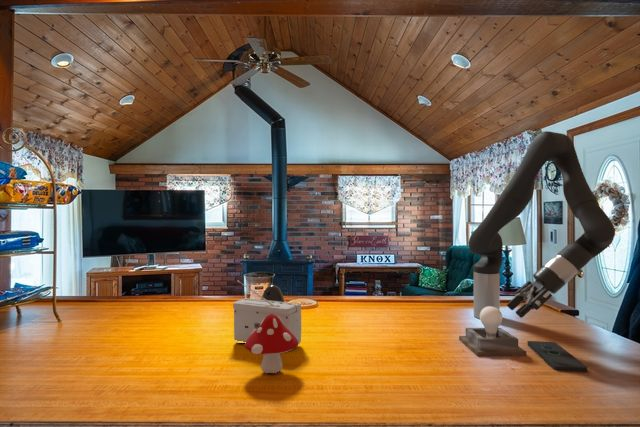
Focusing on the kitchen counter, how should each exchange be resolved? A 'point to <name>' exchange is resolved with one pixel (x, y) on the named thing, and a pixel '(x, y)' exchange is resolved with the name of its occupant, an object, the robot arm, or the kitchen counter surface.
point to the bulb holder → (491, 343)
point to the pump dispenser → (273, 294)
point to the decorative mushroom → (271, 343)
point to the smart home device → (556, 356)
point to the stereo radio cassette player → (256, 310)
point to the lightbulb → (491, 320)
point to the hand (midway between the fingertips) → (513, 311)
